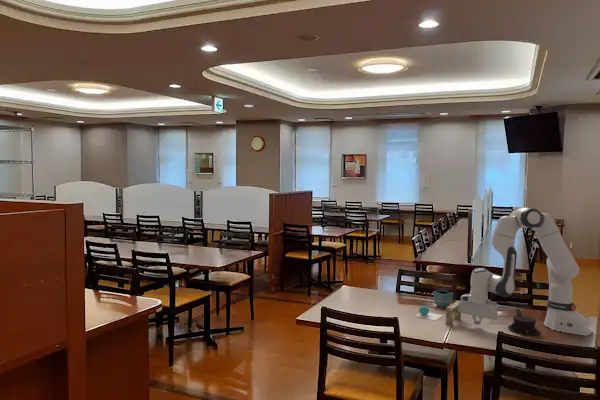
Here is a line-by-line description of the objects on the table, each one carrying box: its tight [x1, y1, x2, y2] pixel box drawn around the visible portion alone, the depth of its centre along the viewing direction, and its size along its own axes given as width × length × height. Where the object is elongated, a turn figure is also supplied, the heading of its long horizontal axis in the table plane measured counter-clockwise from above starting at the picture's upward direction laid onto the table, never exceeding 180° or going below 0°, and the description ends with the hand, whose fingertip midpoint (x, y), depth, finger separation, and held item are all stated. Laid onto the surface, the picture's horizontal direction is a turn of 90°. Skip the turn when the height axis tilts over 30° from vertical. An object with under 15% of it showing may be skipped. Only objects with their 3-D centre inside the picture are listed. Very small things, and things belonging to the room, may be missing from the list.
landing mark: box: [414, 311, 444, 322], centre depth 264 cm, size 12×12×1 cm
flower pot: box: [432, 289, 454, 309], centre depth 283 cm, size 9×9×9 cm
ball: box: [418, 305, 430, 315], centre depth 265 cm, size 6×6×6 cm
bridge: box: [445, 301, 462, 326], centre depth 255 cm, size 3×14×9 cm, turn 141°
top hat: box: [508, 308, 541, 337], centre depth 242 cm, size 15×15×10 cm
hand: (477, 324), depth 247 cm, fingers closed
